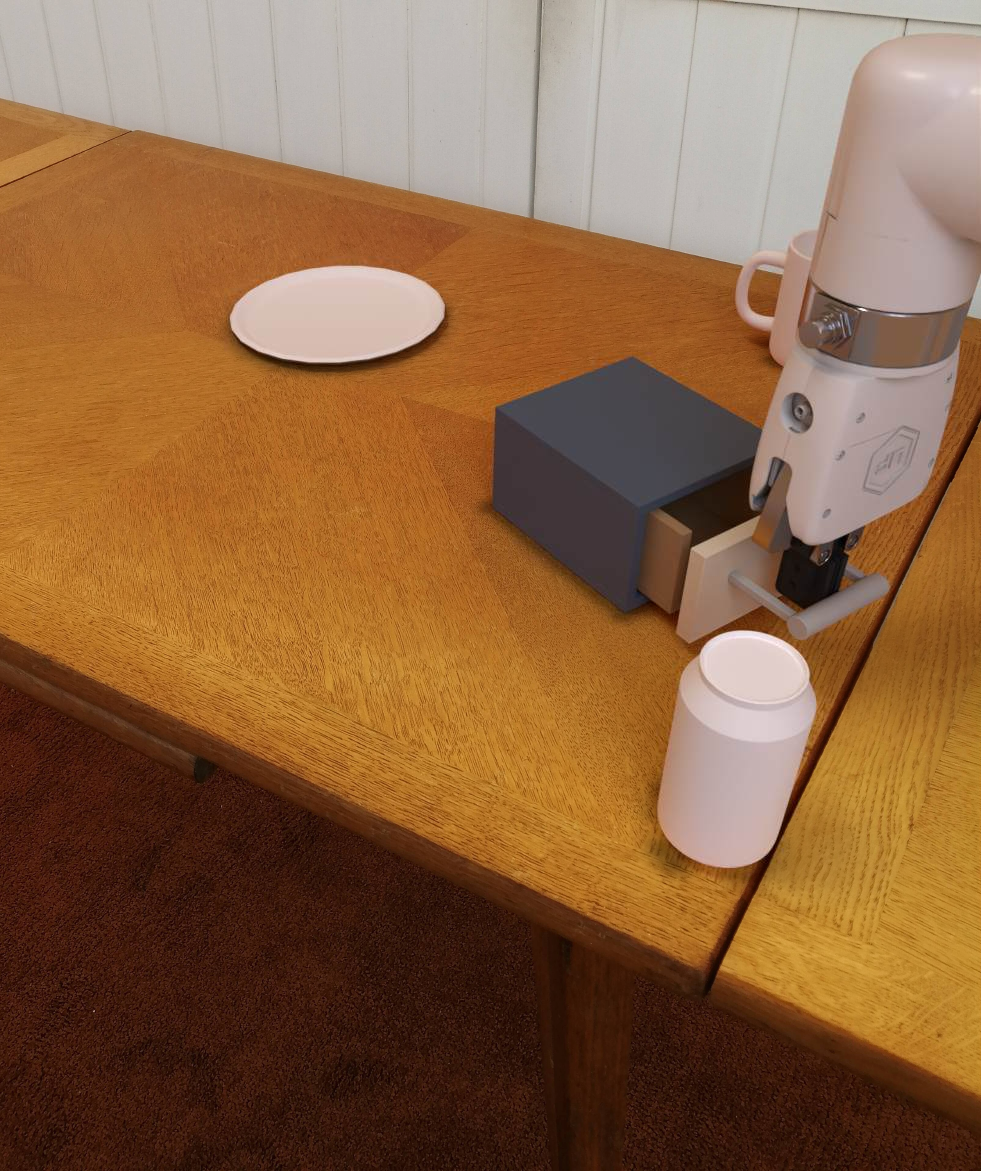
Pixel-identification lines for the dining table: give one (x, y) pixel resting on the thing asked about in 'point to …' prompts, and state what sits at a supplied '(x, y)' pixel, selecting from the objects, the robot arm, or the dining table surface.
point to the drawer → (729, 566)
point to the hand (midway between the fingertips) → (803, 598)
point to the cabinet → (609, 465)
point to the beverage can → (735, 748)
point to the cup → (780, 292)
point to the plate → (337, 315)
